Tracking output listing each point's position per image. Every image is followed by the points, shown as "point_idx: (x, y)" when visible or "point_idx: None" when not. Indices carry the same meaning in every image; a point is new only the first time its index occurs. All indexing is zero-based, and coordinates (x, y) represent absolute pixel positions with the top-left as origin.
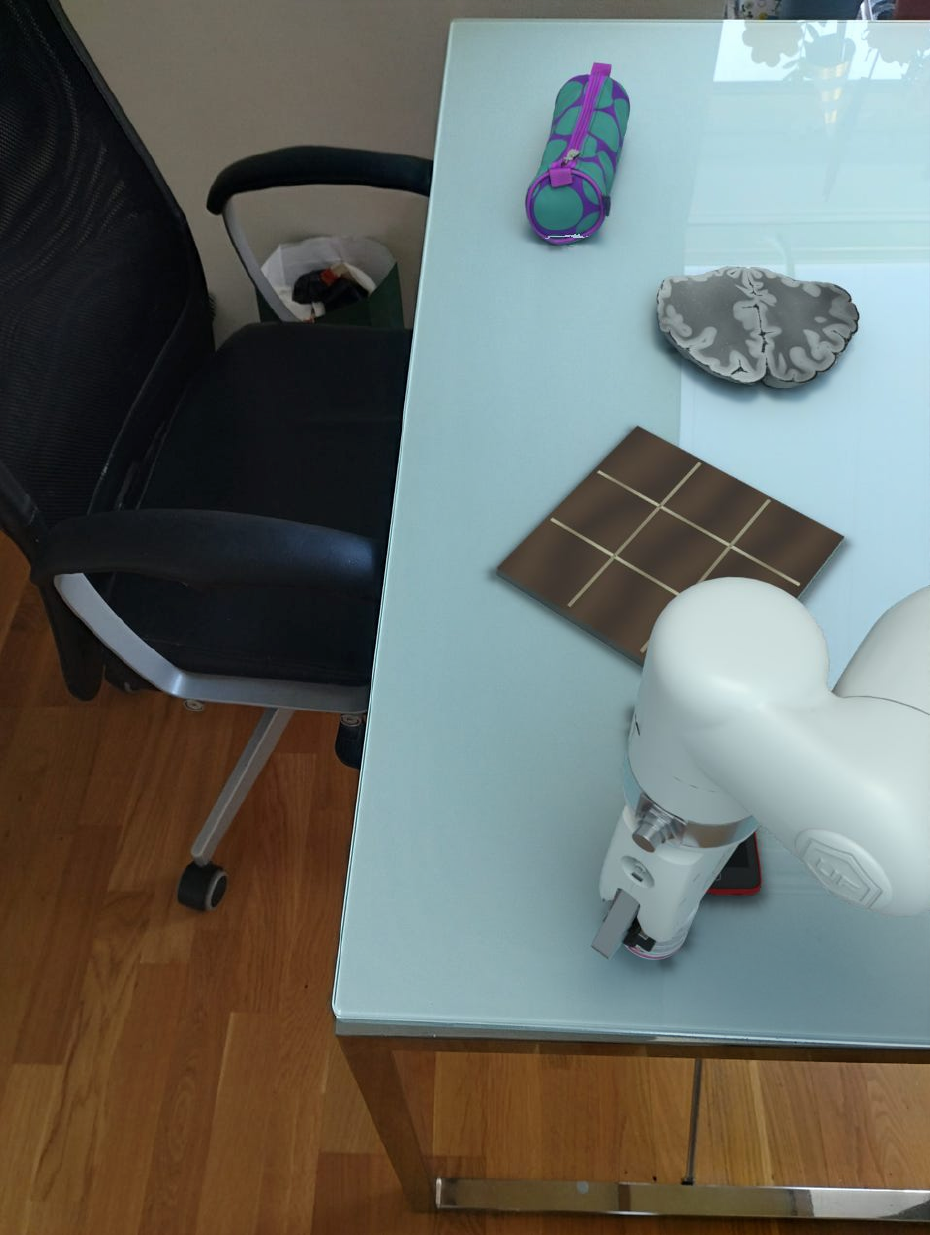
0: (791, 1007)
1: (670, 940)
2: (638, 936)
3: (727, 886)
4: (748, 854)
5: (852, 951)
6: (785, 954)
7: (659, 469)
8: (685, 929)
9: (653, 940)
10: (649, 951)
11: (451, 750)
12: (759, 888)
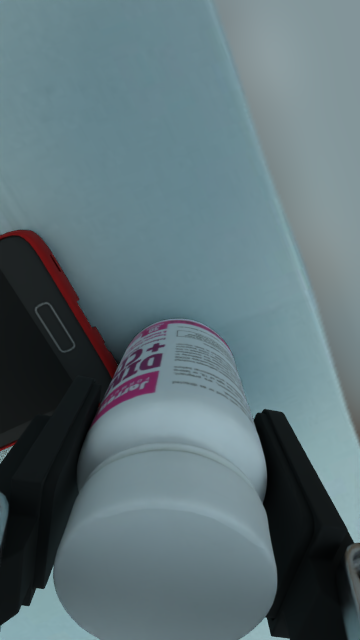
0: (195, 101)
1: (235, 379)
2: (348, 533)
3: (52, 286)
4: None
5: (34, 11)
6: (109, 144)
7: None
8: (212, 373)
9: (311, 466)
10: (282, 413)
11: (80, 637)
12: (22, 232)
